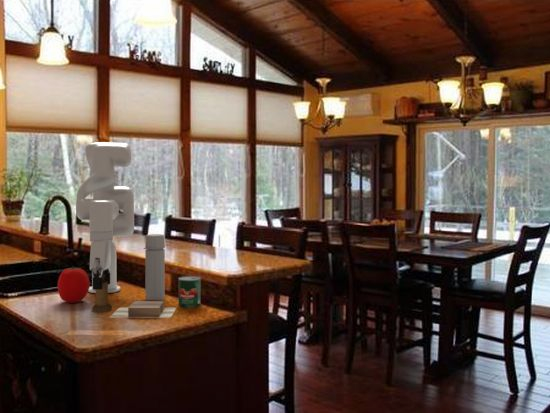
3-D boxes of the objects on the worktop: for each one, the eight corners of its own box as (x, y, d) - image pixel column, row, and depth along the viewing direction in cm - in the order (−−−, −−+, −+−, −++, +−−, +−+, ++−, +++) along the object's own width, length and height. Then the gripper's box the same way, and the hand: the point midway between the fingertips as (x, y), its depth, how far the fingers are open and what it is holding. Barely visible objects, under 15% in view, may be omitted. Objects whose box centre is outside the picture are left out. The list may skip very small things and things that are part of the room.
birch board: (119, 310, 197) (119, 307, 197) (176, 310, 198) (176, 307, 198) (109, 321, 183) (109, 317, 183) (170, 321, 184) (170, 317, 184)
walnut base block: (134, 309, 195) (134, 300, 194) (163, 309, 195) (163, 301, 195) (128, 316, 185) (128, 307, 184) (158, 317, 185) (158, 307, 185)
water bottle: (169, 300, 214) (169, 235, 212) (152, 304, 208) (152, 236, 206) (154, 296, 220) (154, 233, 218) (137, 300, 214) (137, 234, 212)
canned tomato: (180, 311, 197) (180, 280, 196) (176, 306, 204) (176, 276, 204) (203, 309, 200) (203, 279, 199) (197, 305, 207) (197, 275, 207)
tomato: (49, 303, 207) (48, 267, 206) (74, 297, 218) (74, 263, 217) (72, 307, 202) (72, 270, 201) (97, 300, 213) (97, 265, 212)
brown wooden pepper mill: (101, 316, 189) (101, 263, 188) (87, 314, 192) (87, 262, 191) (115, 312, 195) (115, 261, 193) (102, 310, 198) (102, 259, 197)
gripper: (97, 234, 200) (97, 282, 201) (82, 239, 183) (82, 291, 183) (118, 234, 200) (118, 282, 201) (105, 239, 183) (106, 291, 184)
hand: (101, 286), depth 192 cm, fingers open, 9 cm apart
